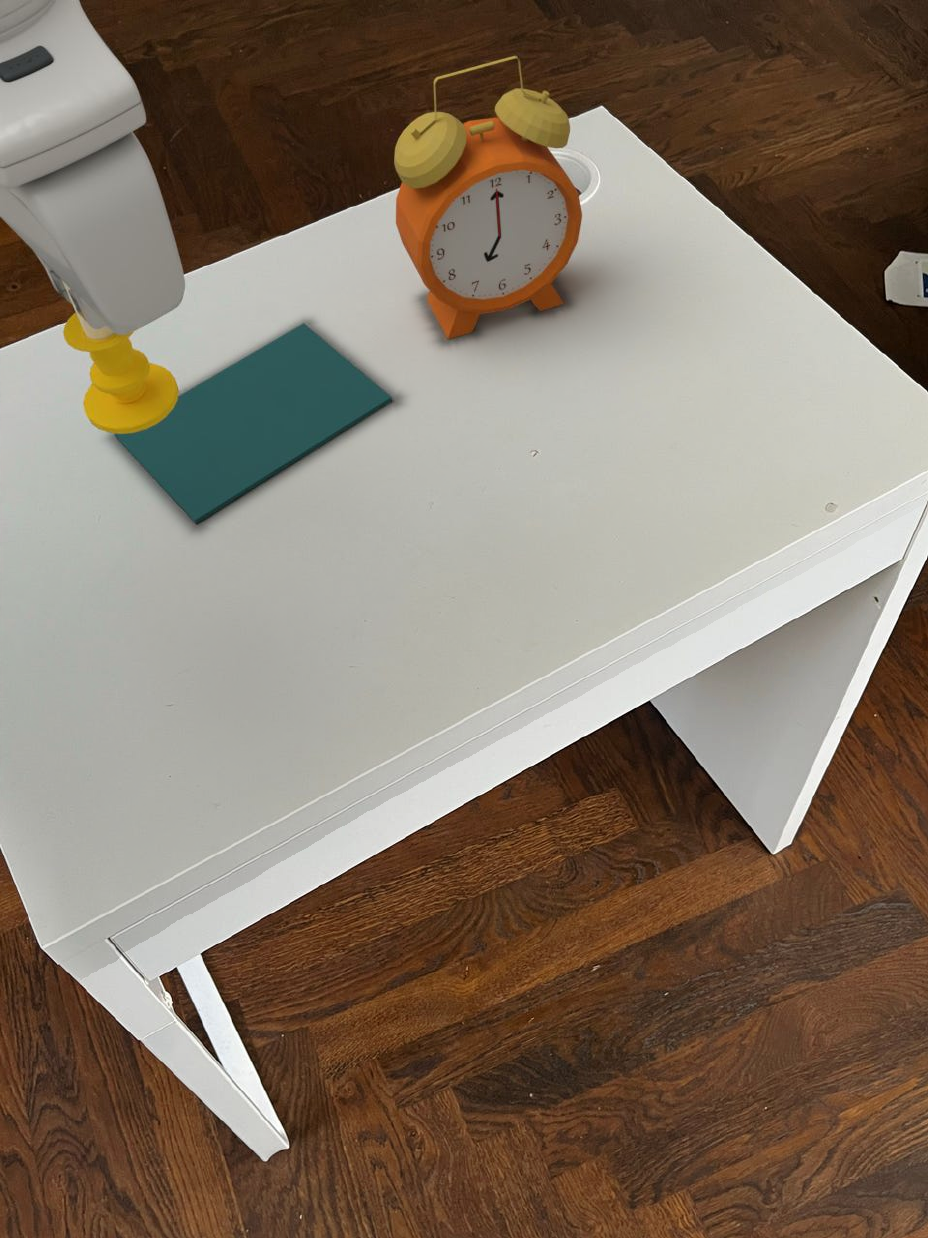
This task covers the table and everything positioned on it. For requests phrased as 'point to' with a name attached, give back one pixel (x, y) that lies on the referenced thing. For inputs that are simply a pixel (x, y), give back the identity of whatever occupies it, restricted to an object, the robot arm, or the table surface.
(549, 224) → the alarm clock
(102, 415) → the candle
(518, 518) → the table surface
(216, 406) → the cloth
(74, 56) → the robot arm
